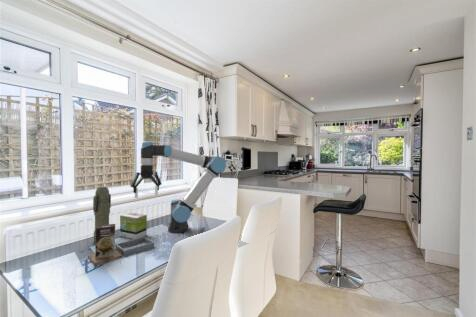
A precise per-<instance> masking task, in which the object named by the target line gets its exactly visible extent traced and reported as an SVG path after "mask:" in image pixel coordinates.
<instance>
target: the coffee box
mask: <svg viewBox="0 0 476 317" xmlns="http://www.w3.org/2000/svg"><path fill="white" fill-rule="evenodd" d="M115 244H116V223H109V224H108V225H98V226H97V227H96V243H95V252H94V254H95V259H98V258H104V257H110V256H114V255H115Z"/></svg>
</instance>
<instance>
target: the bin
mask: <svg viewBox="0 0 476 317" xmlns="http://www.w3.org/2000/svg"><path fill="white" fill-rule="evenodd" d="M141 243H145V244H142V245H138V244H141ZM134 245H138V246H135V247H131V246H134ZM127 247H131V248H127ZM125 248H127V249H125ZM153 248H155V241H153V240H152V239H151V240H150V239H149V238H147V237H146V236H143V237H141V238H138V239H130V240H127V241H123V242H118V243H115V249H116V251H118V252H119V253H120V254H121V255H122V257H127V256H129V255H133V254H136V253H139V252H143V251H146V250H150V249H153Z"/></svg>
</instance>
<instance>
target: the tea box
mask: <svg viewBox="0 0 476 317" xmlns="http://www.w3.org/2000/svg"><path fill="white" fill-rule="evenodd" d="M147 218H148V215H147V214H143V213H136V212H130V213H125V214H122V215H120V216H119V236H120V237H122V238H123V237H124V238H127V239H130V240H134V239H138V238H141V237H146V236H147V230H148V229H147V222H148V220H147Z"/></svg>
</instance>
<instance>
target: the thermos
mask: <svg viewBox="0 0 476 317" xmlns="http://www.w3.org/2000/svg"><path fill="white" fill-rule="evenodd" d="M94 194H95V195H94V196H93V198H92V199H93V200H92V202H93V203H92V204H93V206H92V210H93V215H94V231H93V243H94V242H95V243H94V244H96V227H97V226H98V225H108V224H110V215H111V214H110V213H111V208H112V207H111V206H112V204H111V202H112V201H111V199H112V196H111V193H110V190H109V188H108V187H107V186H99V187H97V188H96V190H95V193H94Z"/></svg>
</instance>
